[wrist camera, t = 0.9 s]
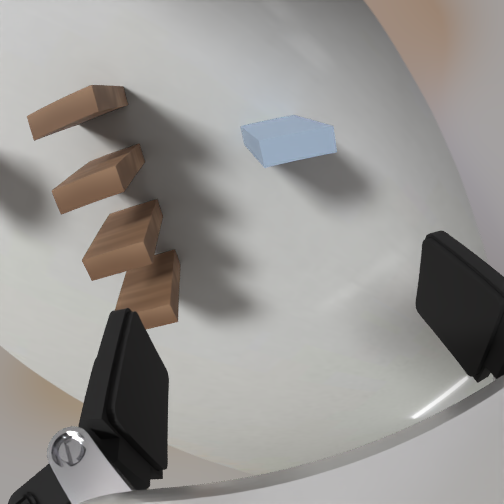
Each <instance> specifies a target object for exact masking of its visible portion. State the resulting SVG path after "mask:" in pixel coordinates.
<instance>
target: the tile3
mask: <svg viewBox="0 0 504 504" xmlns="http://www.w3.org/2000/svg"><path fill="white" fill-rule="evenodd" d="M144 163H145V160H144V157H143V154H142V150H141V147H140V144H136V145H133V146H130V147H128V148H125V149H122V150H119V151H116V152H113V153H111V154H108V155H105V156H103V157H100V158H97V159H95V160H92V161H90V162H89V163H87V164H86V165H84V166H83V167H82V168H80V169H79V170H78V171H76V172H75V173H74V174H72V175H71V176H70V177H68V178H67V179H66V180H65V181H63V182H62V183H61V184H59V185H58V186H57V187H56V188H54V189H53V190H52V193H53V196H54V198H55V201H56V203H57V206H58V208H59V211H60V213H61V214H64V213H66V212H69V211H72V210H74V209H77V208H80V207H82V206H85V205H88V204H90V203H93V202H96V201H99V200H102V199H104V198H107V197H110V196H113V195H116V194H119V193H122V192H124V191H125V190H126V188H127V187H128V185H129V184H130V183H131V181H132V180H133V178H134V177H135V175H136V174H137V173H138V171H139V170H140V168H141V167H142V166H143V164H144Z"/></svg>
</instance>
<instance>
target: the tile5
mask: <svg viewBox="0 0 504 504" xmlns="http://www.w3.org/2000/svg"><path fill="white" fill-rule="evenodd" d="M179 282H180V262H179V259H178V257H177V254H176V251H175V250H171V251H167V252H164V253H160V254H157V255H154V258H153V263H152V264H150V265H146V266H143V267H139V268H135V269H132V270H128V271H127V272H126V275H125V278H124V281H123V285H122V288H121V291H120V295H119V298H118V301H117V305H116V308H115V310H120V309H125V308H129V309H130V310H131V311H132V312H134V311H136V312H137V313H138V315H139V317H140V319H141V321H142V323H143V325H144V327H145V329H150V328H154V327H158V326H162V325H167V324H171V323H175V322H178V305H179Z"/></svg>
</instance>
